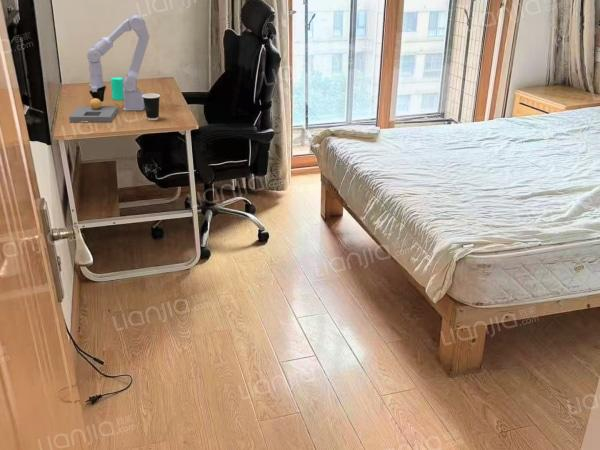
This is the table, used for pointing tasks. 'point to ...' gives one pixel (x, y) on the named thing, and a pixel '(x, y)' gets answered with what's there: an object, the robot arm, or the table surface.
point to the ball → (95, 103)
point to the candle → (117, 88)
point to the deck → (94, 114)
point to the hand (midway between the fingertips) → (99, 103)
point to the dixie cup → (151, 105)
